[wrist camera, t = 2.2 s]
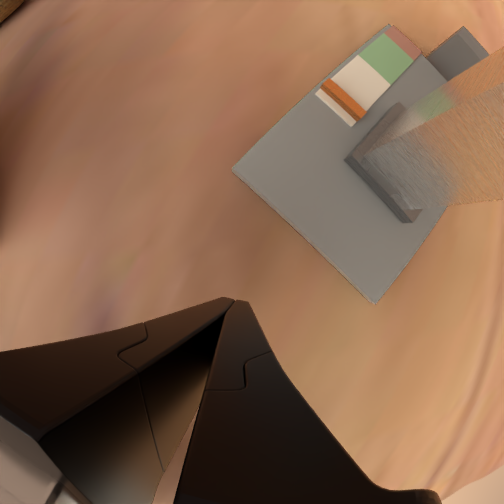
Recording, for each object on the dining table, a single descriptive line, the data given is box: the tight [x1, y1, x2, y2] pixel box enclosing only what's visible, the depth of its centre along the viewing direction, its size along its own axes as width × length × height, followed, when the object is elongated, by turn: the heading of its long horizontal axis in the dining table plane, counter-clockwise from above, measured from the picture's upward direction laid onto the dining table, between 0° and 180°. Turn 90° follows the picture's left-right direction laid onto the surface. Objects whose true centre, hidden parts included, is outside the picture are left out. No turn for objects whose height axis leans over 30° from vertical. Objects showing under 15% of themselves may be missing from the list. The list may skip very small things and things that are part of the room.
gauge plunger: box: [320, 47, 504, 223], centre depth 9 cm, size 5×9×15 cm, turn 48°
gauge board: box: [232, 24, 489, 304], centre depth 15 cm, size 19×11×4 cm, turn 138°
